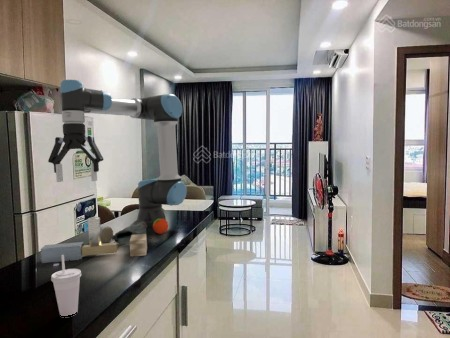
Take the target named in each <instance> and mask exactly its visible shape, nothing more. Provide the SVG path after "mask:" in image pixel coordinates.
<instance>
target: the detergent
mask: <svg viewBox="0 0 450 338" xmlns="http://www.w3.org/2000/svg"><path fill="white" fill-rule="evenodd" d="M147 228H148V226H147V224H146V223H145V222H144V221H142V220H137V219H136V220H134V222H132V223H131V224H130V225H129V226H126V227H125V228H123V229H121V230H119V231H117V232H116V233H115V234H113V235H114V236H113V239H112V240H113V242H114V243H117V245H119V246H122V247H123V246H130V238H131V235H137V234H146V235H147Z"/></svg>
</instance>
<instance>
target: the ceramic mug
mask: <svg viewBox="0 0 450 338" xmlns="http://www.w3.org/2000/svg"><path fill="white" fill-rule="evenodd" d="M100 231H101V244H105V243H111V240H113V236H114V235H115V234H114V231H113V228H112V227H110V226H108V225H103V224H100ZM86 234H87V235H86V236H87V239H88V241H89V229H87V232H86Z"/></svg>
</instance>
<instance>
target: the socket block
mask: <svg viewBox="0 0 450 338" xmlns="http://www.w3.org/2000/svg"><path fill="white" fill-rule="evenodd" d="M147 251H148V241H147V233H146V234H137V235H131V238H130V245H129V253H130V255H129V256H130V257H141V256H142V257H143V256H147Z"/></svg>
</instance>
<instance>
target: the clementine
mask: <svg viewBox="0 0 450 338" xmlns="http://www.w3.org/2000/svg"><path fill="white" fill-rule="evenodd" d="M168 228H169V223H168V221H167V219H166V220H165V219H162V218H160V219H157V220H155V222H154V223H153V226H152V229H153V231H154V232H155V233H156V234H158V235H160V234H161V235H162V234H165V233H166V232H168Z"/></svg>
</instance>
